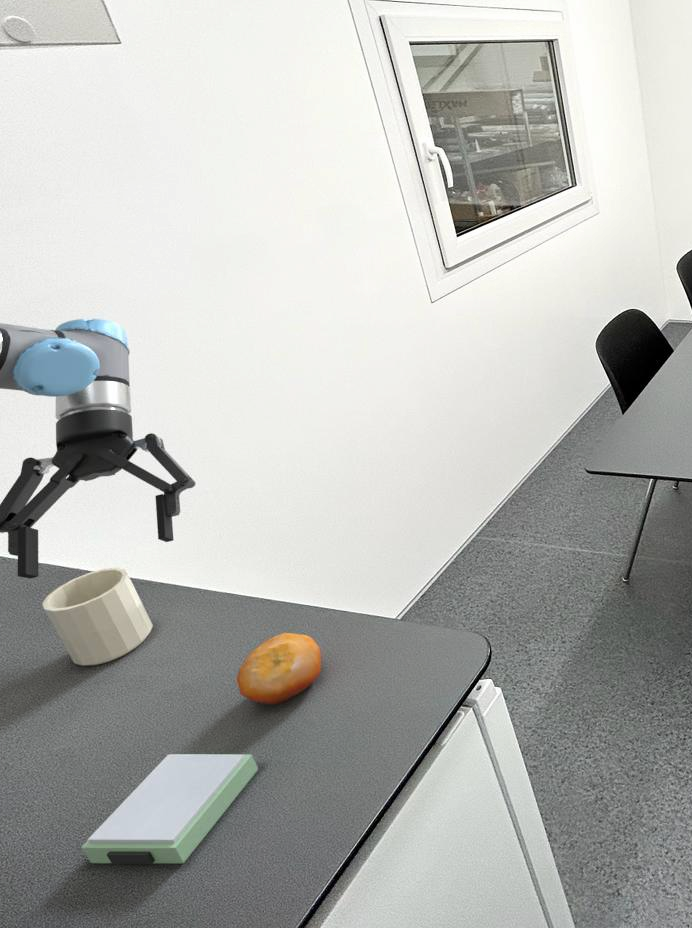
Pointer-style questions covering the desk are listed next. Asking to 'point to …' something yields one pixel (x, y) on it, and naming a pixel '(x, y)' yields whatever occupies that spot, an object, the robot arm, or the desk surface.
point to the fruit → (280, 668)
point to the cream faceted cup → (98, 616)
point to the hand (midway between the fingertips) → (99, 557)
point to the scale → (171, 809)
